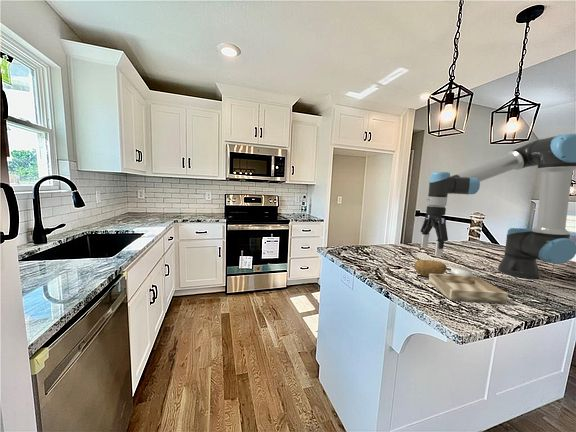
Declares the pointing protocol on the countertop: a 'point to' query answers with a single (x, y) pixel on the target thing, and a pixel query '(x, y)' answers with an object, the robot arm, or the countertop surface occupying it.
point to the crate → (467, 288)
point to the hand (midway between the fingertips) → (431, 251)
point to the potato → (429, 267)
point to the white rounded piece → (460, 271)
